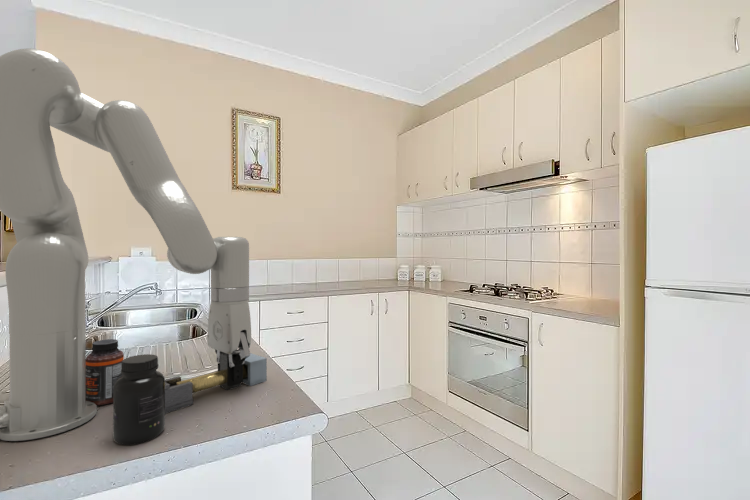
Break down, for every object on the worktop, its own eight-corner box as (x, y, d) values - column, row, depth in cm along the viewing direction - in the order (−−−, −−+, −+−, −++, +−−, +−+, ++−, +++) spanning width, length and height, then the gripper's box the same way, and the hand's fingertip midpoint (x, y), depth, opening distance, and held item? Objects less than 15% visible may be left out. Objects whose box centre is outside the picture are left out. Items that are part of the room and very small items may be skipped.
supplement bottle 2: (102, 441, 56) (102, 361, 56) (145, 421, 62) (145, 350, 62) (133, 450, 53) (133, 367, 53) (175, 429, 60) (175, 354, 60)
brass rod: (180, 404, 69) (180, 367, 69) (173, 400, 71) (173, 364, 71) (256, 381, 81) (256, 349, 81) (248, 378, 83) (248, 346, 83)
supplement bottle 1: (76, 404, 69) (77, 343, 69) (107, 393, 75) (108, 336, 75) (101, 408, 67) (101, 346, 67) (131, 396, 73) (131, 338, 73)
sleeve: (133, 423, 62) (133, 394, 62) (120, 413, 65) (120, 386, 65) (193, 404, 69) (193, 378, 69) (178, 396, 73) (178, 371, 73)
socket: (250, 386, 78) (250, 362, 78) (234, 379, 82) (234, 356, 82) (266, 380, 82) (266, 358, 82) (250, 374, 86) (250, 353, 85)
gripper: (194, 294, 80) (194, 378, 80) (234, 300, 70) (234, 398, 70) (226, 290, 86) (226, 369, 86) (268, 296, 76) (268, 386, 76)
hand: (230, 381), depth 78 cm, fingers closed on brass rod, 3 cm apart
